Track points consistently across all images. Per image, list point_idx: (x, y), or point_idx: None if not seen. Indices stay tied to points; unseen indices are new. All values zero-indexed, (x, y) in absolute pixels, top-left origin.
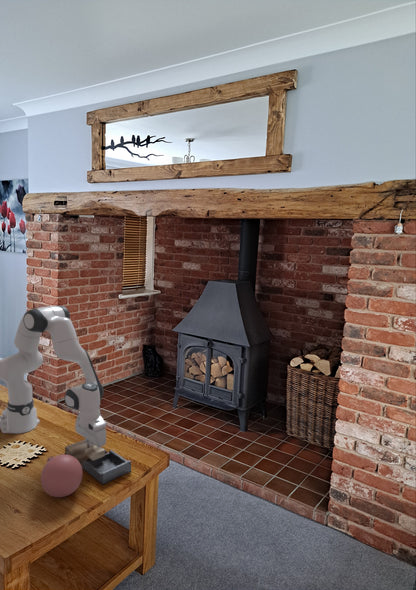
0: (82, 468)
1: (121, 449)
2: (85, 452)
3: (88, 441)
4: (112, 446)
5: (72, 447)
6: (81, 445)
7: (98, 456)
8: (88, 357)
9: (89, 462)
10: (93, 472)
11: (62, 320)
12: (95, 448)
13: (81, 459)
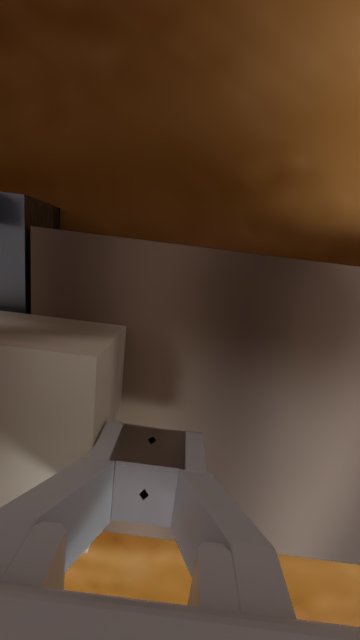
0: (51, 206)
1: (82, 590)
2: (115, 337)
3: (198, 538)
4: (168, 582)
5: None
6: (353, 437)
7: None
8: None
9: (3, 278)
10: None
11: None
12: (1, 470)
13: (86, 233)
